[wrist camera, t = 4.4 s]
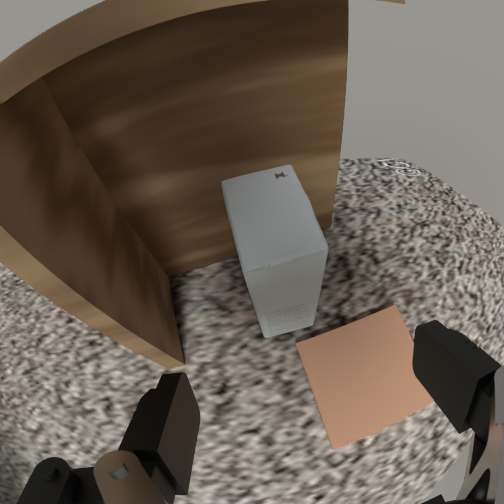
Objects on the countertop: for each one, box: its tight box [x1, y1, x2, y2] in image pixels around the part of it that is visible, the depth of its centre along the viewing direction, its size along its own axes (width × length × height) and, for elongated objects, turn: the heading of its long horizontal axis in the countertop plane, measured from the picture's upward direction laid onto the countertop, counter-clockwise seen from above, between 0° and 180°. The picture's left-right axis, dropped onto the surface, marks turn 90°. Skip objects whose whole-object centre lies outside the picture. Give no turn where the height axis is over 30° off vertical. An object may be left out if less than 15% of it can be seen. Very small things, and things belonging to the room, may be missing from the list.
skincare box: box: [221, 164, 329, 338], centre depth 20 cm, size 6×4×12 cm
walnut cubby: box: [0, 0, 405, 369], centre depth 16 cm, size 10×18×23 cm, turn 106°
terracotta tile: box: [296, 304, 434, 450], centre depth 20 cm, size 9×9×1 cm
